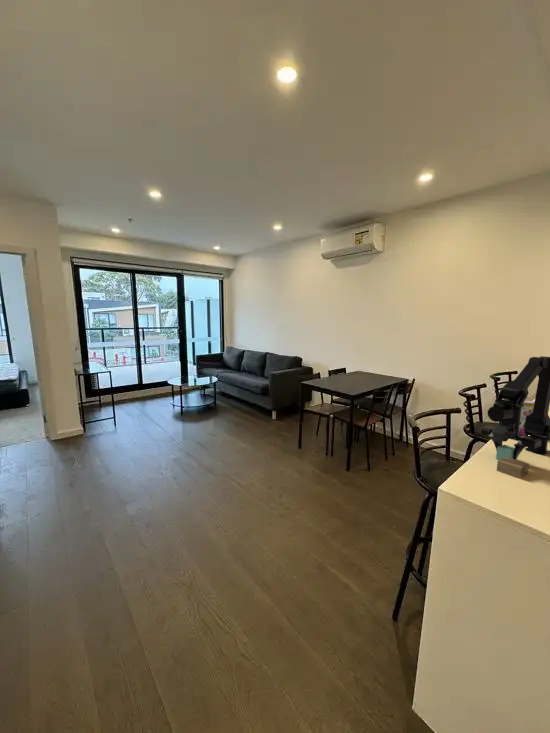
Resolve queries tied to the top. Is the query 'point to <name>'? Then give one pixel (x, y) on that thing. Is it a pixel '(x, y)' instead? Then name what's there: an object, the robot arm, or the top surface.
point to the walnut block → (513, 467)
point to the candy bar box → (525, 414)
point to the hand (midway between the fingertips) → (506, 457)
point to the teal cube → (505, 452)
